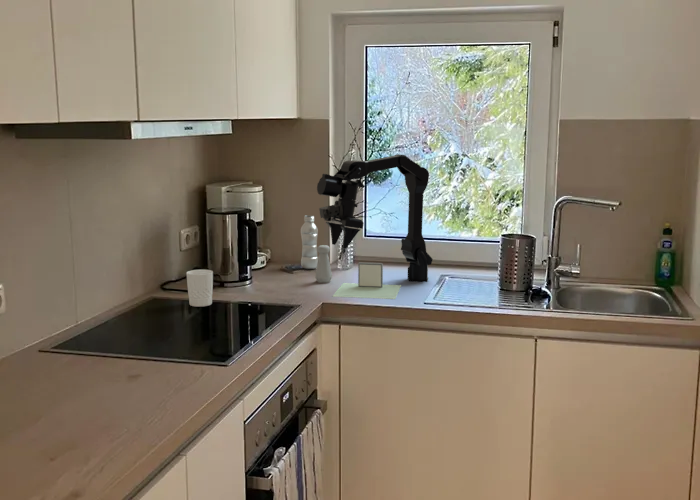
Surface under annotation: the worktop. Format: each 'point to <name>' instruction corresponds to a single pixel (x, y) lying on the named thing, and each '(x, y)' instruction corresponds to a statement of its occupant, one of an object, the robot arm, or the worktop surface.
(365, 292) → the trivet mat
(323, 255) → the salt shaker
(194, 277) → the white cup
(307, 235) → the plastic bottle
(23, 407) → the worktop surface
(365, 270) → the slate tile
